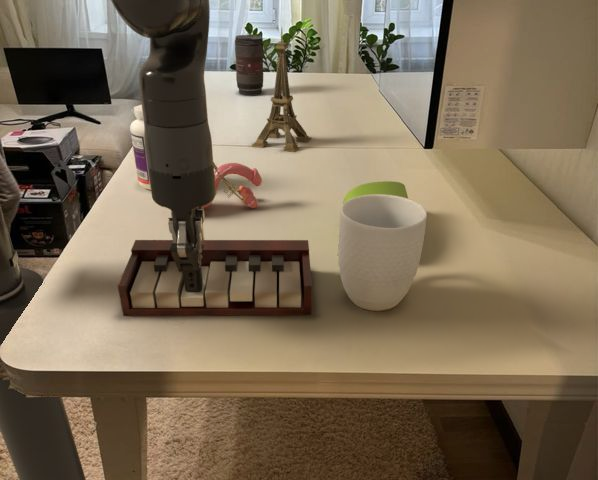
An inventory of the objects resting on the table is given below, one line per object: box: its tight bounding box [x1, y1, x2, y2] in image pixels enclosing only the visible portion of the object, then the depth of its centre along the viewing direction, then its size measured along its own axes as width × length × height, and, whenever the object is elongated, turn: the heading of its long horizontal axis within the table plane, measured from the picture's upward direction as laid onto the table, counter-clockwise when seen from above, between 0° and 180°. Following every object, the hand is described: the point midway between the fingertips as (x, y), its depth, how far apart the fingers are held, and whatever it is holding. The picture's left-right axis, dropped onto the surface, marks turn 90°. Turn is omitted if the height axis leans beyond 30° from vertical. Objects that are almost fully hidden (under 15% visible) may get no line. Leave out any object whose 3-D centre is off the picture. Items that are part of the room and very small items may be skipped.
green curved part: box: [341, 180, 409, 206], centre depth 97 cm, size 8×12×20 cm
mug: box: [337, 194, 428, 312], centre depth 80 cm, size 15×11×13 cm
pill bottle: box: [129, 104, 151, 191], centre depth 112 cm, size 8×8×14 cm
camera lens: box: [234, 34, 265, 96], centre depth 172 cm, size 8×8×15 cm
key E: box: [181, 266, 209, 306], centre depth 81 cm, size 3×8×1 cm, turn 2°
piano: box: [117, 239, 313, 317], centre depth 82 cm, size 25×12×5 cm, turn 92°
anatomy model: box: [202, 161, 263, 210], centre depth 105 cm, size 10×14×15 cm
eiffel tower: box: [251, 28, 312, 153], centre depth 131 cm, size 11×11×25 cm
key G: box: [230, 261, 254, 301], centre depth 81 cm, size 3×8×1 cm, turn 2°
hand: (194, 289), depth 79 cm, fingers closed
